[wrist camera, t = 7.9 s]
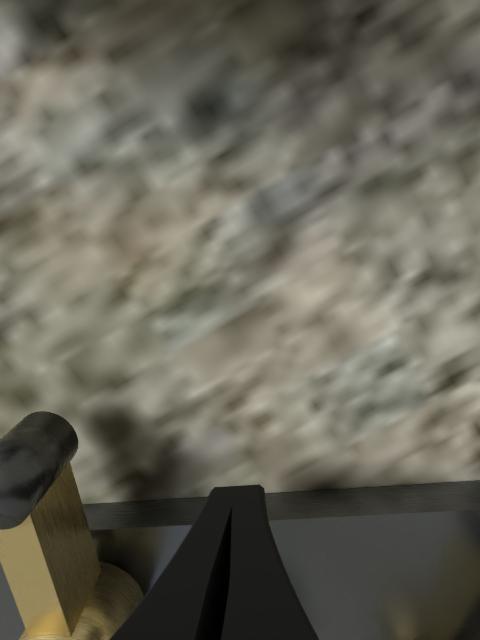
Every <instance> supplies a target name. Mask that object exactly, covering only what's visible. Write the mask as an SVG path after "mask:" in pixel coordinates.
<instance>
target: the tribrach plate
mask: <svg viewBox="0 0 480 640" xmlns="http://www.w3.org/2000/svg"><path fill="white" fill-rule="evenodd" d="M207 498H208V497H202V498H186V499H169V500H153V501H136V502H120V503H103V504H87V505H82V506H83V509H84V513H85V516H86V520H87V523H88V526H89V530H90V533H91V537H92V540H93V544H94V547H95V551H96V554H97V558H98V561H101V562H106V563H109V564H112V565H114V566H116V567H118V568H120V569H122V570H124V571H125V572H126V573H128V574H129V575H130V576H131V577H132V578H133V579H134V580H135V581H136V582H137V584H138V585H139V586H140V588H141V590H142V593H143V596H144V597H145V595H146V594H147V593H148V591H149V590H150V589H151V587H152V586H153V585H154V583H155V582H156V580H157V579H158V577H159V576H160V574H161V573H162V572H163V570H164V569H165V567H166V566H167V564H168V563H169V562H170V560H171V559H172V557H173V556H174V554H175V553H176V551H177V549H178V548H179V546H180V545H181V543H182V541H183V540H184V538H185V537H186V535H187V533H188V532H189V530H190V529H191V527H192V525H193V523H194V522H195V520H196V518H197V516H198V515H199V513H200V511H201V509H202V507H203V506H204V504H205V502H206V500H207ZM265 500H266V508H267V515H268V521H269V525H270V528H271V531H272V534H273V537H274V540H275V543H276V546H277V549H278V552H279V555H280V557H281V560H282V562H283V565H284V567H285V570H286V572H287V574H288V577H289V579H290V581H291V584H292V586H293V588H294V590H295V593H296V595H297V597H298V599H299V601H300V603H301V605H302V607H303V609H304V611H305V613H306V615H307V617H308V619H309V621H310V623H311V625H312V627H313V629H314V631H315V633H316V634H317V636H318V638H319V640H480V481H465V482H449V483H432V484H416V485H400V486H383V487H367V488H350V489H334V490H317V491H301V492H284V493H268V494H265ZM24 630H25V626H24V623H23V621H22V618H21V615H20V613H19V610H18V607H17V605H16V602H15V599H14V597H13V594H12V591H11V589H10V586H9V583H8V581H7V578H6V575H5V573H4V570H3V567H2V565H1V562H0V640H19V639H20V637H21V635H22V633H23V632H24Z"/></svg>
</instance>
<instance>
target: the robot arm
mask: <svg viewBox="0 0 480 640" xmlns="http://www.w3.org/2000/svg"><path fill="white" fill-rule="evenodd" d="M109 640H319V638H318V636H317V634H316V633H315V631H314V629H313V627H312V625H311V623H310V621H309V619H308V617H307V615H306V613H305V611H304V609H303V607H302V605H301V603H300V601H299V599H298V597H297V595H296V593H295V590H294V588H293V586H292V584H291V581H290V579H289V577H288V574H287V572H286V570H285V567H284V565H283V562H282V560H281V557H280V555H279V552H278V549H277V546H276V543H275V540H274V537H273V534H272V531H271V528H270V525H269V521H268V515H267V508H266V500H265V493H264V488H263V487H262V486H260V485H246V486H230V487H214V489H213V490H212V491H211V492H210V494H209V496H208V498H207V500H206V502H205V504H204V506H203V507H202V509H201V511H200V513H199V515H198V516H197V518H196V520H195V522H194V523H193V525H192V527H191V529H190V530H189V532H188V533H187V535H186V537H185V538H184V540H183V541H182V543H181V545H180V546H179V548H178V549H177V551H176V553H175V554H174V556H173V557H172V559H171V560H170V562H169V563H168V564H167V566H166V567H165V569H164V570H163V572H162V573H161V574H160V576H159V577H158V579H157V580H156V582H155V583H154V585H153V586H152V587H151V589H150V590H149V591H148V593H147V594H146V595H145V597H144V598H143V599H142V601H141V602H140V603H139V604H138V606H137V607H136V608H135V609H134V611H133V612H132V613H131V614H130V616H129V617H128V618H127V619H126V620H125V622H124V623H123V624H122V625H121V627H120V628H119V629H118V630H117V631H116V632H115V633H114V635H113V636H112V637H111V638H110V639H109Z"/></svg>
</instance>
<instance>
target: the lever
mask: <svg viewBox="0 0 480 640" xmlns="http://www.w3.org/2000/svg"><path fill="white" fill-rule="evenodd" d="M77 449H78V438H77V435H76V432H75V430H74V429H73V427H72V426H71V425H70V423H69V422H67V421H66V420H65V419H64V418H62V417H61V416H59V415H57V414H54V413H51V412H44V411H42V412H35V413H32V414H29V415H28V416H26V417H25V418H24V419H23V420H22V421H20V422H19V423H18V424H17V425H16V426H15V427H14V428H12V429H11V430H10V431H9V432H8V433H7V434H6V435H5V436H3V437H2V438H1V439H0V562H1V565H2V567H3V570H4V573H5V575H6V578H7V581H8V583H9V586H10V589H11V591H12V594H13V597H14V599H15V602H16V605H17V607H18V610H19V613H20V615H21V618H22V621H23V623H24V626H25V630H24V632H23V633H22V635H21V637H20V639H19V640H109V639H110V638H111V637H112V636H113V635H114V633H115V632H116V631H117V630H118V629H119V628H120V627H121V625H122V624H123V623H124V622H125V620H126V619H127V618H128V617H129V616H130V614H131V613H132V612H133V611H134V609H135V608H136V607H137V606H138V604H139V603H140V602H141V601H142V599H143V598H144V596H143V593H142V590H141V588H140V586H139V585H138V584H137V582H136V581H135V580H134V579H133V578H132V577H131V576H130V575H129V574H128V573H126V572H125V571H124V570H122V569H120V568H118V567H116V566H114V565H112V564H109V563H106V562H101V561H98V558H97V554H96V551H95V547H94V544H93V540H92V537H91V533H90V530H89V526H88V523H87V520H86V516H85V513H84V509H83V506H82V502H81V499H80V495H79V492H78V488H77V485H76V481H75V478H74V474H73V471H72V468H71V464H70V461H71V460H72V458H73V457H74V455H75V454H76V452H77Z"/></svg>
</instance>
